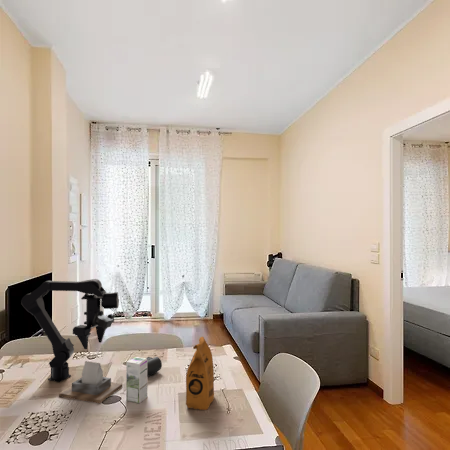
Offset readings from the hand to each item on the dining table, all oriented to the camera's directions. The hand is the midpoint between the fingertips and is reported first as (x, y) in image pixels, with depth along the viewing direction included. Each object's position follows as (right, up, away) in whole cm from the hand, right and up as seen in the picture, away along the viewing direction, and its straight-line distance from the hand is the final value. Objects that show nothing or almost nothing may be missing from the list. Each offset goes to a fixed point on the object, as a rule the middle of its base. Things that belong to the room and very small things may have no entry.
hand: (93, 345), depth 147 cm
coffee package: (+47, -13, -23) cm, 54 cm away
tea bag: (+5, -12, -14) cm, 19 cm away
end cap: (+23, -13, +1) cm, 27 cm away
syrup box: (+24, -13, -20) cm, 34 cm away
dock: (+5, -13, -14) cm, 20 cm away
